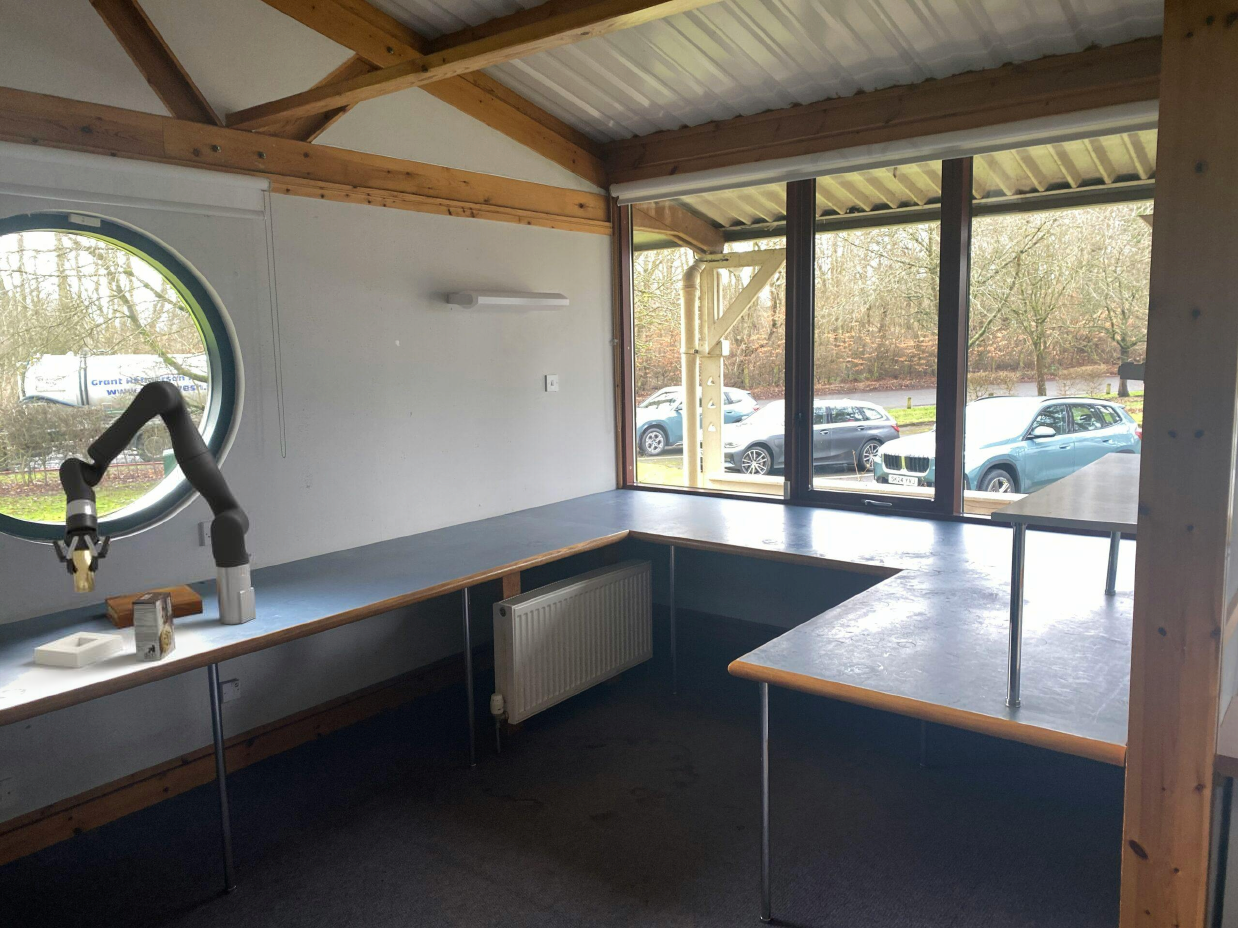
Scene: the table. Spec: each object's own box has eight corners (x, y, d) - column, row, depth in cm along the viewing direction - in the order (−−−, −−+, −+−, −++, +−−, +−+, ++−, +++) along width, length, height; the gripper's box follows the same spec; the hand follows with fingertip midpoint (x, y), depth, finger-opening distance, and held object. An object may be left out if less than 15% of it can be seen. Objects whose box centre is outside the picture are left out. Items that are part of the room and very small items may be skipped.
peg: (98, 588, 235) (95, 549, 233) (84, 593, 230) (80, 552, 229) (85, 587, 236) (82, 548, 234) (71, 592, 232) (67, 551, 230)
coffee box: (151, 649, 235) (147, 591, 233) (176, 648, 235) (171, 591, 233) (135, 661, 226) (130, 601, 224) (161, 660, 226) (156, 600, 224)
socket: (122, 649, 234) (121, 635, 234) (78, 668, 221) (77, 653, 221) (81, 645, 238) (80, 631, 238) (35, 663, 225) (34, 648, 224)
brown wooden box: (119, 631, 252) (117, 612, 252) (106, 616, 266) (104, 598, 266) (203, 614, 267) (201, 596, 266) (186, 601, 281) (185, 584, 280)
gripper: (49, 514, 233) (49, 568, 225) (110, 509, 240) (112, 561, 231) (52, 530, 239) (53, 583, 230) (112, 524, 246) (114, 575, 237)
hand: (82, 571), depth 231 cm, fingers closed on peg, 4 cm apart
